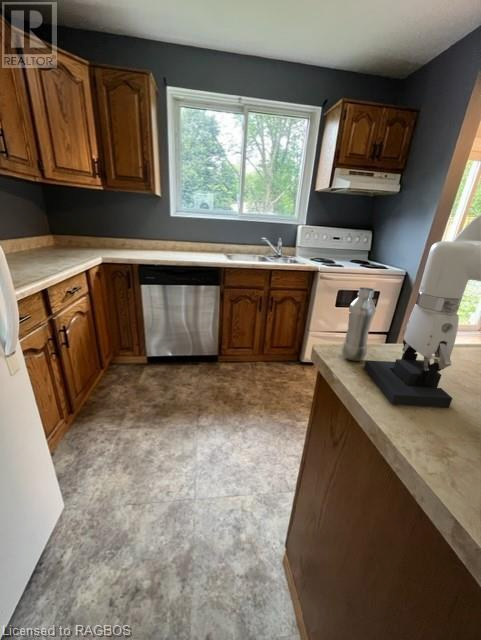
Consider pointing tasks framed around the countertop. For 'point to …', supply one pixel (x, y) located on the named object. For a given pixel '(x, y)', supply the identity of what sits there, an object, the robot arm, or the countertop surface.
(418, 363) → the black pad
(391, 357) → the countertop surface
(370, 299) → the plastic bottle
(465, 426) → the countertop surface
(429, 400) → the notched tile
